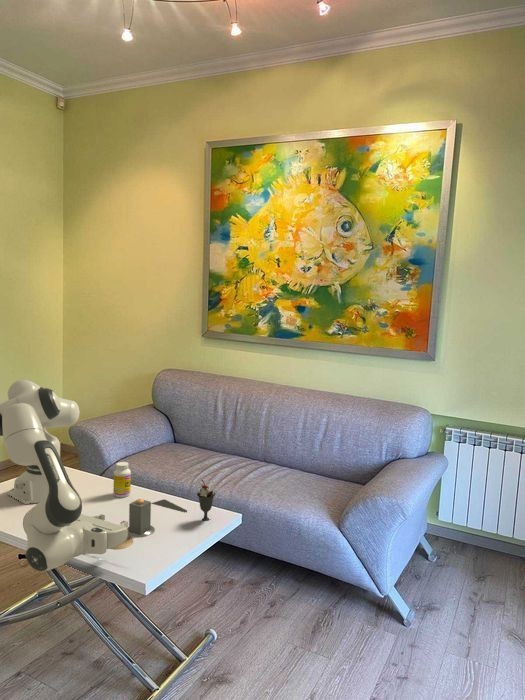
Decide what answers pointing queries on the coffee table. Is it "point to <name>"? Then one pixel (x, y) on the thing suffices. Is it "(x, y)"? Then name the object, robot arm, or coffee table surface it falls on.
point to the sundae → (205, 500)
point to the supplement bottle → (122, 480)
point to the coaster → (124, 544)
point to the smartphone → (169, 505)
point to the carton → (139, 516)
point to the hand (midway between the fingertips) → (114, 520)
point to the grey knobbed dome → (142, 534)
